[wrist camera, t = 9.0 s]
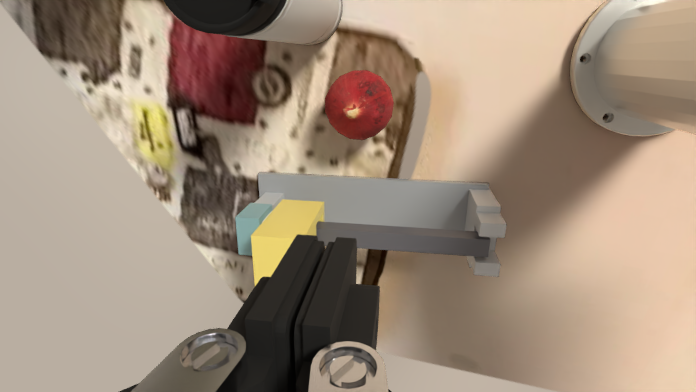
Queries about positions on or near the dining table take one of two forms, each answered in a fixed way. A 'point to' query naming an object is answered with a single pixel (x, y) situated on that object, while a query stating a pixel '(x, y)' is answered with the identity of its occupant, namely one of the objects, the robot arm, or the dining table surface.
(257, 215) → the grey long frame
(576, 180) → the dining table surface
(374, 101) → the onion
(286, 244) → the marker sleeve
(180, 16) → the travel mug
